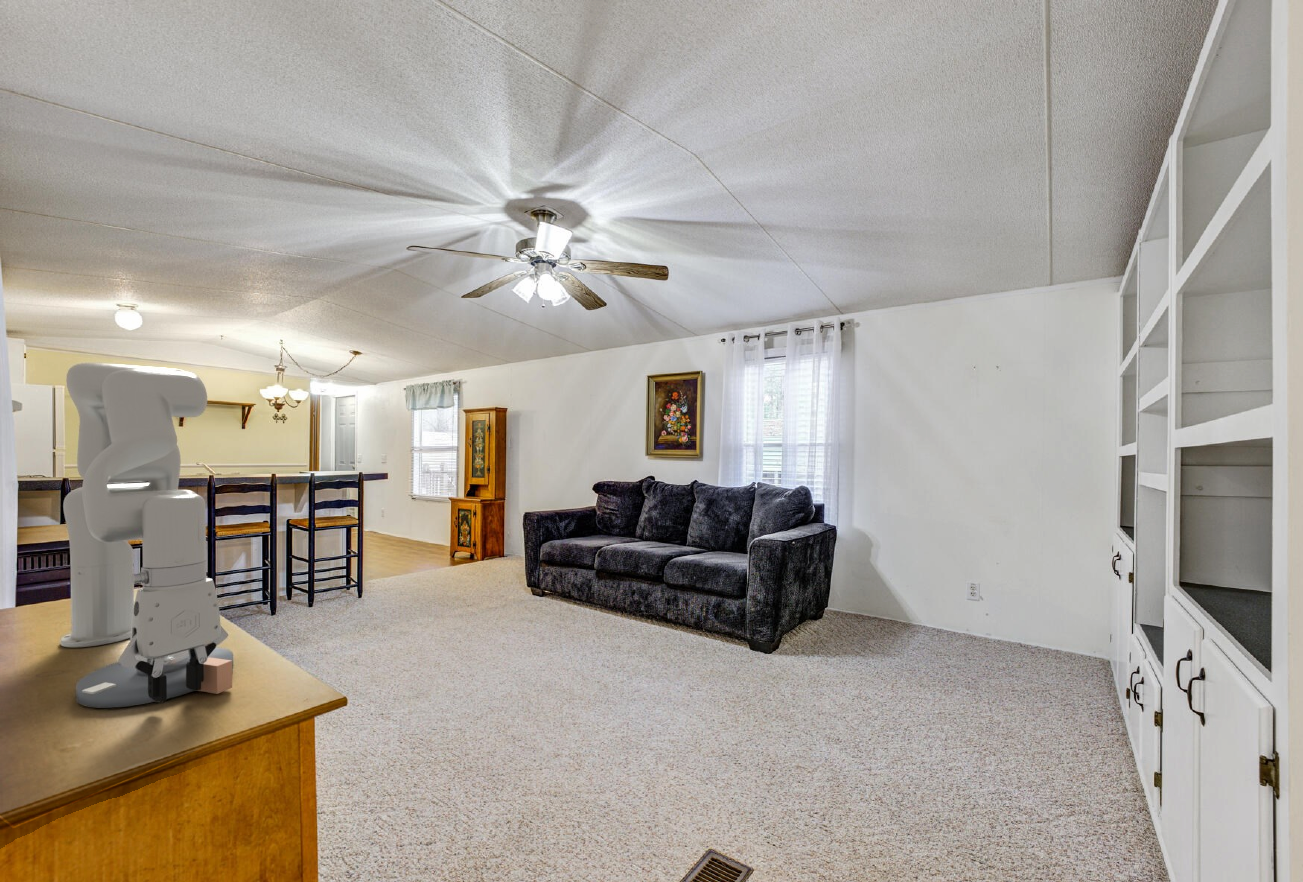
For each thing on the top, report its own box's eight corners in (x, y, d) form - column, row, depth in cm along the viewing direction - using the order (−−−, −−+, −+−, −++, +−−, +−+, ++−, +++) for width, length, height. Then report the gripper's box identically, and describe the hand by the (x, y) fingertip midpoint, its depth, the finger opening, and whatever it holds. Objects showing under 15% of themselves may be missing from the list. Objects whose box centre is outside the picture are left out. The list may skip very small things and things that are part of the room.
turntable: (44, 698, 91) (43, 670, 91) (180, 652, 110) (179, 629, 110) (156, 719, 84) (155, 689, 84) (280, 667, 103) (280, 642, 103)
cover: (125, 674, 95) (124, 649, 95) (170, 658, 102) (169, 635, 102) (156, 678, 93) (156, 653, 93) (200, 662, 100) (200, 639, 100)
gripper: (116, 590, 80) (117, 724, 80) (247, 566, 95) (249, 679, 95) (93, 584, 84) (94, 712, 84) (223, 562, 98) (224, 670, 98)
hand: (176, 693), depth 89 cm, fingers open, 3 cm apart
